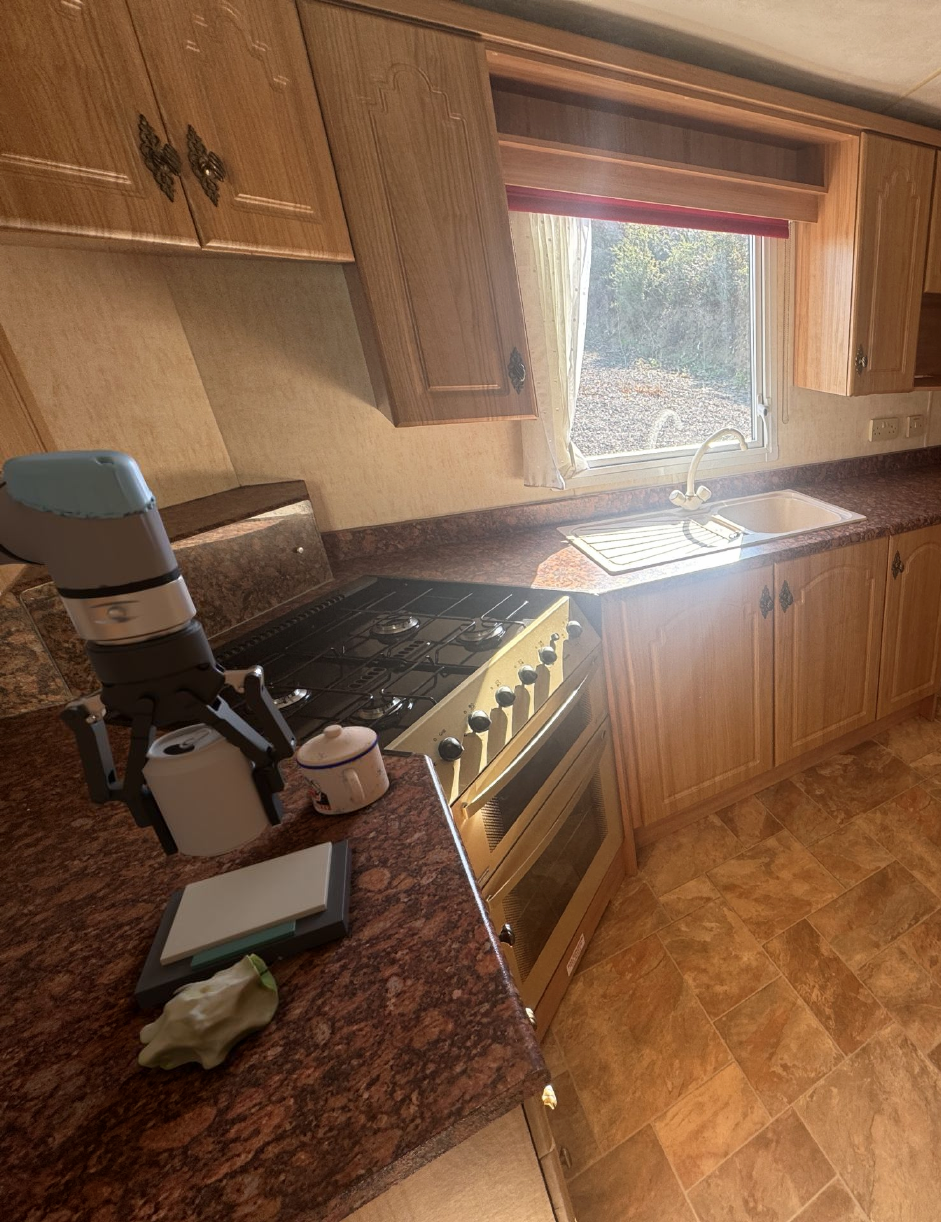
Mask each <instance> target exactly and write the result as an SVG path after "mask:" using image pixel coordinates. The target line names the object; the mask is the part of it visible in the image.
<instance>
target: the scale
mask: <svg viewBox="0 0 941 1222" xmlns="http://www.w3.org/2000/svg"><path fill="white" fill-rule="evenodd" d="M352 861H353V851H352V848H351V844H350V842H349V840H348V839H344V840H342V841H337V842H335V843H332V842H331V841H328V842H325V843H320V844H317V845H315V846H312V847H308V848H304V849H302V850H297V851H294V852H292V853H288V854H285V855H282V856H277V857H274V858H272V859H269V860H268V859H267V860H265V861H262V862H259V863H255V864H252V865H249V866H245V867H241V868H239V869H235V870H232V871H228V872H226V873H221V874H218V875H215V876H212V877H209V878H206V879H202V880H199V881H196V882H192V883H188V884H187V885H186V886H185V887H184V889H181V890H177V891H174V892H171V895H170V896H169V900H168V902H167V905H166V907H165V910H164V912H163V914H162V918H161V921H160V923H159V926H158V928H157V931H156V934H155V936H154V939H153V941H152V944H151V947H150V949H149V951H148V954H147V958H146V959H145V963H144V966H143V967H142V971H141V973H140V977H139V978H138V982H137V984H136V987H135V988H134V989H135V990H134V991H133V997H134V999H135V1000H136V1001H137V1004H138V1005H139V1007H140V1009H141V1010H145V1009H148V1008H151V1007H153V1006H156V1005H158V1004H162V1003H165V1002H168V1001H171V1000H172V999H173V998H175V997H176V996H177V995H178V994H180V993H181V992H183V991H180V992H177V993H175V994H174V992H175V991H176V990H177V989H179V988H181V987H183V986H185V985H187V984H191V983H196V982H202V981H207V980H209V979H211V978H212V977H213V976H214V975H215V974H216V973H217V972H219V971H223V970H227V969H229V968H231V967H233V966H234V965H235V964H237V963H239V962H240V961H241V960H243V959H244V957H245V956H246V955H248V956H249V957H250V956H251V954H255V955H256V956H258V957H259V958H260V959H262V960H263V961H264V962H265V964H266V965H268V964H271V963H275V961H276V960H277V959H278V958H279V957H282V959H284V958H287V957H290V956H292V955H295V954H299V953H301V952H304V951H307V950H309V949H311V948H315V947H317V946H320V945H322V944H325V943H329V942H330V941H334V940H336V939H339V938H342V937H344V936H347V935H348V934H349V918H350V901H351V883H352V882H351V881H352V880H351V879H352Z"/></svg>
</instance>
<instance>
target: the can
mask: <svg viewBox="0 0 941 1222" xmlns="http://www.w3.org/2000/svg"><path fill="white" fill-rule="evenodd" d="M146 757H147V758H148V759H147V762H146V765H145V767H144V768H143V770H142V772H143V774H144V777H145V779H146V781H147V785H148V788H149V787H150V789H151V792H152V794H153V796H154V798H155V800H156V802H157V804H158V807H159V809H160V811H161V813H162V815H163V817H164V819H165V822H166V824H167V826H168V828H169V830H170V832H171V834H172V837H173V839H174V841H175V843H176V845H177V847H178V851H179V852H180V853H182V854H184V855H186V856H193V857H194V856H196V857H202V858H203V857H205V858H207V857H208V858H209V857H215V856H217V857H218V856H220V855H224V854H228V853H231V852H234V851H235V850H238V849H240V848H243V847H244V846H246V845H248V844H249V843H251V842H253V841H254V840H256V839H257V838H258V837H260V836H261V834H263V832H264V831H265V829H266V828H268V826H269V825H270V824H271V822H270V820H269V817H268V815H267V812H266V810H265V807H264V804H263V802H262V799H261V797H260V794H259V792H258V789H257V786H256V784H255V781H254V779H253V776H252V773H253V769H254V766H255V763H254V762H253V761H251V760H250V759H249V758H248V757H247V756H246V755H244V754H243V753H242V752H241V751H240V748H238V747H236V746H234V745H233V744H231V743H230V742H229V741H228V740H227V739H226V737H223V736H222V735H221V734H220V733H218V732H217V731H216V730H215V729H214V728H213V727H211V726H207V725H205V724H204V723H203V722H202V723H198V724H194V725H189V726H185V727H182V728H180V729H179V728H178V729H176V730H173V731H171V732H168V733H166V734H164V735H162V736H160V737H159V738H157V739H154V743H153V744H152V746H151V748H150V750H149V751H148V753H147V754H146Z"/></svg>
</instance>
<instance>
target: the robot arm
mask: <svg viewBox="0 0 941 1222" xmlns="http://www.w3.org/2000/svg"><path fill="white" fill-rule="evenodd" d="M1 469H2V473H3V474H0V566H6V565H32V566H33V565H35V566H45V568H46V570H47V573H48V574H49V576H50V578H51V581H52V582H53V584H54V587H55V588H56V591H57V593H58V595H59V597H60V599H61V601H62V604H63V605H64V608H65V610H66V612H67V614H68V616H69V618H70V620H71V622H72V625H73V627H74V629H75V631H76V633H77V635H78V637H79V638H81V639H83V640H86V643H85V644H84V646H83V649H84V651H85V653H86V656H87V657H88V660H89V662H90V664H91V666H92V668H93V671H94V672H95V675H96V677H97V679H98V680H99V682H100V683H101V691H100V694H97V695H94V696H91V697H88V698H85V697H75V698H73V699H71V701H70V702H69V703H68V704H67V705H66V706H65V707H64V708H63V710H62V711H61V712H60V713H59V718H60V719H61V721H62V722H63V723H64V724H65V725H66V726H67V727H68V728H69V729H70V730H71V731H72V733H73V734H74V737H75V742H76V745H77V749H78V753H79V757H80V761H81V766H82V769H83V773H84V777H85V781H86V785H87V789H88V794H89V797H90V800H91V802H92V803H93V804H95V805H104V804H107V803H109V802H122V803H124V804H125V805H126V806H127V808H128V810H129V812H130V814H131V816H132V818H133V820H134V822H135V824H136V826H137V827H139V828H140V829H145V828H150V827H152V828H153V831H154V833H155V835H156V837H157V839H158V841H159V843H160V845H161V847H162V850H163V852H164V854H165V856H166V857H169V856H172V855H177V854H178V851H179V849H178V847H177V845H176V843H175V841H174V839H173V837H172V834H171V832H170V830H169V828H168V826H167V824H166V822H165V819H164V817H163V815H162V813H161V811H160V809H159V807H158V804H157V802H156V800H155V798H154V796H153V794H152V792H151V789H150V787H149V786H148V788H147V785H148V783H147V781H146V779H145V777H144V774H143V772H142V770H143V768H144V767H145V765H146V762H147V759H148V758H147V757H146V754H147V753H148V751H149V750H150V748H151V746H152V744H153V743H154V741H155V740H156V733H157V728H160V727H165V726H168V725H170V724H173V723H175V722H187V721H194V720H199V721H200V722H201V723H202V724H203V723H204V724H205V725H207V726H211V727H213V728H214V729H215V730H216V731H217V732H218V733H220V734H221V735H222V736H223V737H226V739H227V740H228V741H229V742H230V743H231V744H233V745H234V746H236V747H238V748H240V751H241V752H242V753H243V754H244V755H246V756H247V757H248V758H249V759H250V760H251V761H253V762H254V764H255V766H254V769H253V773H252V776H253V779H254V781H255V784H256V786H257V789H258V792H259V794H260V797H261V799H262V802H263V804H264V807H265V810H266V812H267V815H268V817H269V820H270V825H271V827H275V826H278V825H282V822H283V816H284V811H285V808H284V805H283V802H282V800H281V796H280V794H279V793H281V792H284V791H285V787H286V782H287V778H286V775H285V772H284V769H283V767H282V765H281V761H284V760H285V759H286V760H288V759H290V758H293V756H294V755H295V752H296V747H297V743H298V742H297V738H296V737H295V735H294V733H293V732H292V730H291V728H290V727H289V725H288V723H287V721H286V720H285V718H284V716H283V715H282V713H281V711H280V710H279V708H278V706H277V705H276V703H275V701H274V700H273V698H272V696H271V695H270V693H269V691H268V689H267V688H266V686H265V672H264V671H265V670H264V667H262V666H261V665H259V664H258V665H256V664H254V665H251V666H249V667H248V668H247V669H233V670H232V669H231V670H226V668H225V667H223V666H222V665H220V664H219V663H218V662H217V660H216V659H215V657H214V655H213V651H212V649H211V646H210V644H209V641H208V639H207V635H206V633H205V630H204V628H203V625H202V623H201V622H200V621H199V620H196V619H195V618H194V617H195V616H196V614H197V610H196V607H195V604H194V602H193V599H192V597H191V595H190V592H189V590H188V587H187V584H186V582H185V580H184V577H183V574H182V572H181V571H180V569H179V564H178V561H177V558H176V556H175V553H174V550H173V548H172V545H171V542H170V539H169V537H168V533H167V531H166V528H165V527H164V523H163V520H162V517H161V515H160V511H159V509H158V506H157V500H156V496H155V495H154V494H153V491H152V490H150V488H149V487H148V484H147V483H146V480H145V478H144V476H143V474H142V471H141V470H140V469H141V468H140V467H139V465H138V462H137V461H136V460H135V459H134V458H133V457H132V456H130V455H129V454H127V453H124V452H121V451H118V450H113V449H89V450H88V449H87V450H84V449H83V450H81V449H74V450H59V451H47V452H38V453H30V454H23V455H18V456H13V457H11V458H8V459H7V460H6V461H4V462H3V464H2V467H1ZM225 685H230V686H232V687H233V688H234V690H235V691H236V692H237V693H238V694H244V698H245V701H246V704H247V705H248V707H249V708H250V710H251V711H252V713H253V715H254V717H255V718H256V720H257V721H258V723H259V724H260V727H261V728H262V729H263V731H264V733H265V734H266V736H267V737H268V740H269V741H270V742H271V743H270V742H269V741H267V740H266V739H265V737H263V736H261V734H259V733H258V732H257V731H256V730H255V729H254V728H253V727H251V726H250V725H249V724H248V723H247V722H246V721H245V720H244V719H242V718H241V717H240V716H239V715H238V714H237V713H236V712H235V711H234V710H232V709H231V708H230V706H229V704H228V702H226V700H225V699H223V698H222V697H221V696H220V695H219V694H220V692H221V690H223V687H224V686H225ZM106 708H109V709H111V710H113V711H114V712H115V711H116V712H117V713H119V714H121V715H124V716H126V717H128V718H130V719H131V720H132V722H131V729H130V735H129V738H130V743H129V747H128V753H127V755H128V756H127V760H126V767H125V773H124V778H123V781H119V779H118V776H117V775H118V774H117V770H116V768H115V762H114V759H113V753H112V749H111V745H110V740H109V737H108V732H107V729H106V728H107V727H106V724H105V721H104V717H105V715H106V714H107V711H106Z"/></svg>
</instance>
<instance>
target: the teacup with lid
mask: <svg viewBox="0 0 941 1222" xmlns="http://www.w3.org/2000/svg"><path fill="white" fill-rule="evenodd" d="M378 742H379V735H378V734H377V733H376V732H375V731H374V730H373V729H371V728H369V727H366V726H356V725H355V726H345V727H342V726H341V725H340V724H331V725H329V726H327V727H325V728H324V729H323V733H321V734H318V735H317V736H315V737H313V738H311V739H309V740H307V741H306V742H305V743H304V744H302V745H301V747H300V748H299V749H298V751H297V752H296V756H295V757H296V758H295V761H296V764H297V765H298V766H299V767H300V769H301V772H302V774H303V775H302V776H303V777H304V781H305V784H306V786H307V789H308V792H309V794H310V797H311V800H312V803H313V806H314V809H315V810H316V811H317V812H319V813H321V814H324V815H342V814H347V813H350V812H354V811H357V810H360V809H363V808H364V807H366V806H368V805H371V804H372V803H374V802H375V801H378V799H380V798H381V797H382V796H383V795H384V794H385V793H386V792H387V790H388V789H389V786H390V781H389V778H388V774H387V771H386V767H385V764H384V761H383V757H382V754H381V750H380V747H379V743H378Z"/></svg>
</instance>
